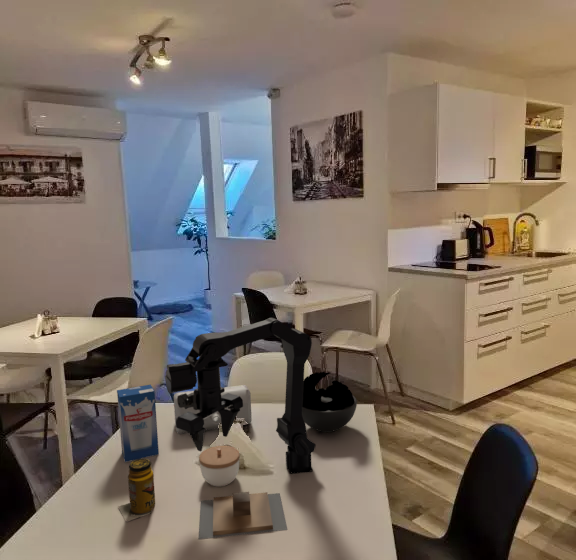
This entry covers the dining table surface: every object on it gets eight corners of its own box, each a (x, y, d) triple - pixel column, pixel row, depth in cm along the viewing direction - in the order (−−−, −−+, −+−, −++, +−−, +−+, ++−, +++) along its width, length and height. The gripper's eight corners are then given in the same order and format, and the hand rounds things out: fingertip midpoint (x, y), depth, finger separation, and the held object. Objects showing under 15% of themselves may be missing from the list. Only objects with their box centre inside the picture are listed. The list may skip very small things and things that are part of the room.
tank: (177, 444, 161) (174, 406, 159) (175, 423, 176) (172, 388, 174) (255, 433, 167) (254, 396, 165) (246, 413, 182) (245, 380, 180)
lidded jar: (208, 497, 131) (206, 463, 130) (195, 477, 140) (193, 445, 139) (246, 485, 136) (245, 452, 134) (232, 467, 145) (230, 436, 144)
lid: (267, 495, 130) (266, 479, 129) (272, 529, 117) (272, 511, 116) (213, 501, 128) (212, 484, 128) (213, 535, 115) (212, 517, 114)
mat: (279, 494, 131) (279, 492, 131) (287, 531, 117) (287, 529, 116) (200, 502, 129) (200, 500, 129) (198, 541, 114) (198, 539, 114)
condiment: (161, 510, 126) (157, 464, 124) (126, 522, 122) (122, 475, 120) (151, 496, 132) (148, 452, 130) (117, 507, 128) (114, 462, 126)
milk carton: (155, 445, 160) (150, 384, 157) (159, 454, 154) (154, 390, 151) (121, 453, 155) (116, 390, 152) (124, 462, 150) (119, 397, 147)
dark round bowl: (296, 416, 179) (295, 364, 176) (354, 416, 178) (353, 363, 175) (295, 443, 159) (293, 385, 156) (360, 443, 158) (359, 384, 155)
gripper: (212, 368, 140) (215, 422, 143) (158, 390, 125) (163, 450, 128) (242, 376, 134) (245, 432, 136) (190, 399, 119) (194, 462, 121)
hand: (212, 443), depth 131 cm, fingers open, 9 cm apart
